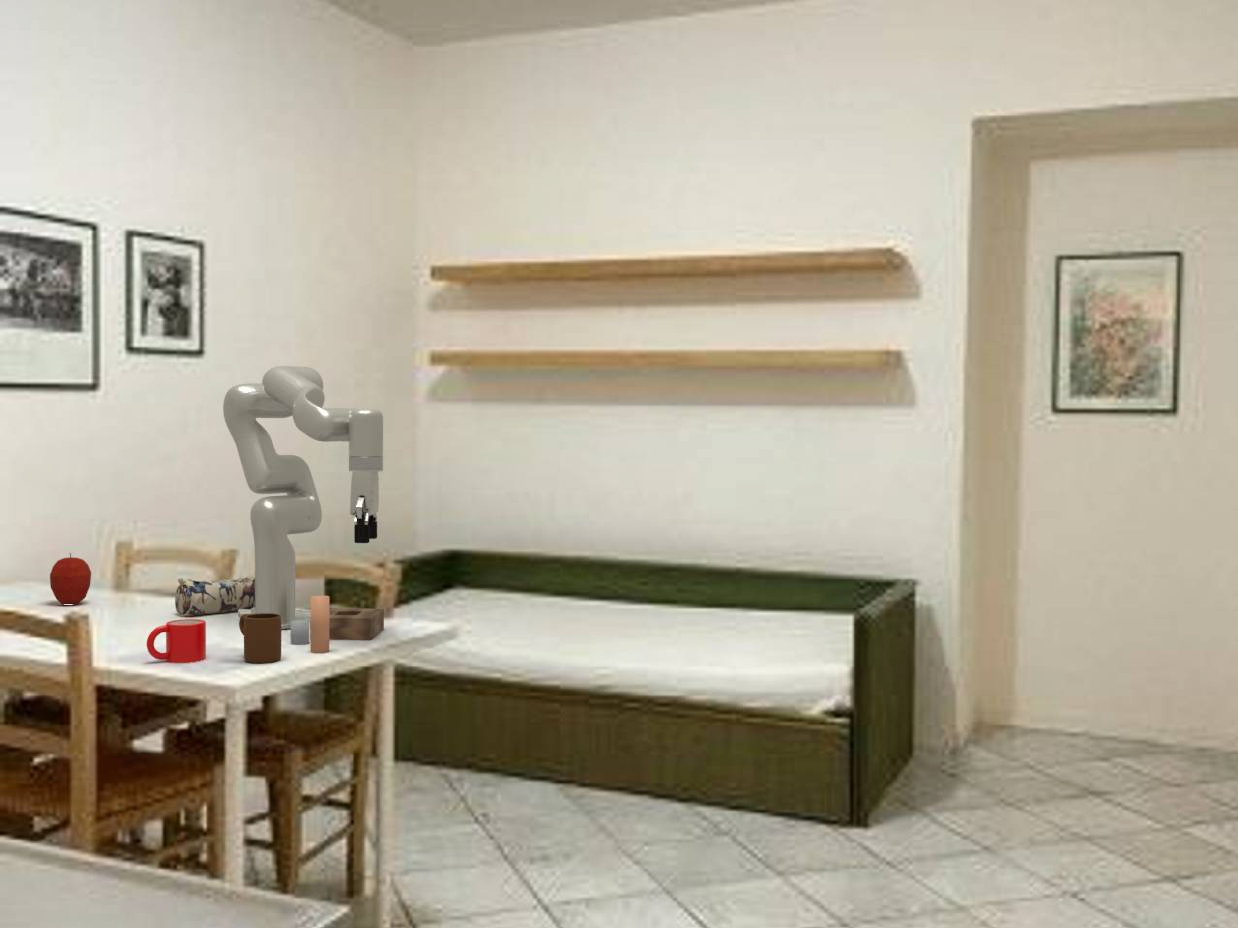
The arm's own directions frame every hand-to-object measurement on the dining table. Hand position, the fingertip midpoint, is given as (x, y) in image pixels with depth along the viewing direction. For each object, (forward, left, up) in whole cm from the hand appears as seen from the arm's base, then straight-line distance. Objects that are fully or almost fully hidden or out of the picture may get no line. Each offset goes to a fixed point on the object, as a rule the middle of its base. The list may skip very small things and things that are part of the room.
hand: (365, 540), depth 277 cm
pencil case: (-47, +40, -24) cm, 66 cm away
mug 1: (-35, -21, -24) cm, 47 cm away
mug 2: (-19, -18, -24) cm, 35 cm away
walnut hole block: (-7, +12, -24) cm, 27 cm away
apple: (-90, +48, -24) cm, 105 cm away
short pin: (-15, 0, -24) cm, 28 cm away
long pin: (-8, -9, -24) cm, 26 cm away
